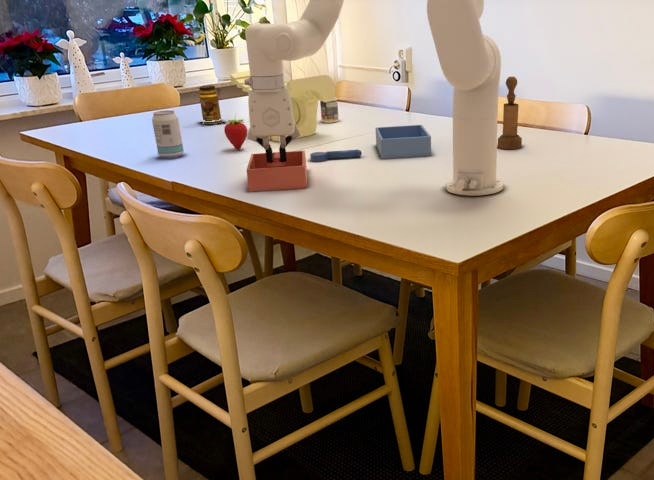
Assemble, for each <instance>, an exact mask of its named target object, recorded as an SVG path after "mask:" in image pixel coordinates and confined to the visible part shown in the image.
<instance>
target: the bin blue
mask: <svg viewBox="0 0 654 480" xmlns="http://www.w3.org/2000/svg"><path fill="white" fill-rule="evenodd" d="M375 144H376V145H375V146H376V148H377V150H378V153H379V155H380V158H381V159H382V160H386V159H401V158H417V157H431V156H432V136H431V135H430V133H429V132H428V131H427V129H426V128H425V127H424V125H423V124H412V125H396V126H395V125H394V126H378V127H375Z"/></svg>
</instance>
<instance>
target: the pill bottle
mask: <svg viewBox="0 0 654 480" xmlns="http://www.w3.org/2000/svg"><path fill="white" fill-rule="evenodd" d="M335 99H336V100H335V101H330V102H322V101H319V103H320V106H319V107H320V117H321V122H322V123H324V124H325V123H327V124H330V123H331V124H332V123H337V122H338V121H339V105H338V98H337V97H336V96H335Z"/></svg>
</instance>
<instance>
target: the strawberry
mask: <svg viewBox="0 0 654 480" xmlns="http://www.w3.org/2000/svg"><path fill="white" fill-rule="evenodd" d="M236 116H237V114H235V115H234V118H236ZM223 129H224V134H225V137H226V139H227V140H228V142H229V143H230V144H231V145H232V147H233V148H234V149H235V150H237V151H240V150H241V149H242V146H243V145H244V144H245V141H246V139H247V138H248V128H247V126H246V124H245V122H244V119H228V120H227V124H226V123H225V125H224V127H223Z"/></svg>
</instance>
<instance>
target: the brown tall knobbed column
mask: <svg viewBox="0 0 654 480" xmlns="http://www.w3.org/2000/svg"><path fill="white" fill-rule="evenodd" d="M517 85H518V78H517V77H515V76H508V77H507V78H506V80H505V86H506V88H507V90H508V93H507V95H506V98H507V103H503V117H502V134H501V135H500V136H499V137H497V149H498V148H499V149H500V150H501V149H502V150H517V149H520V148H522V147H523V144H522V143H523V138H522V137H521V135H519V134H518V128H519V127H518V123H519V107H520V106H519V104H518V103H515V100H516V94H515V89H516V87H517Z"/></svg>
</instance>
